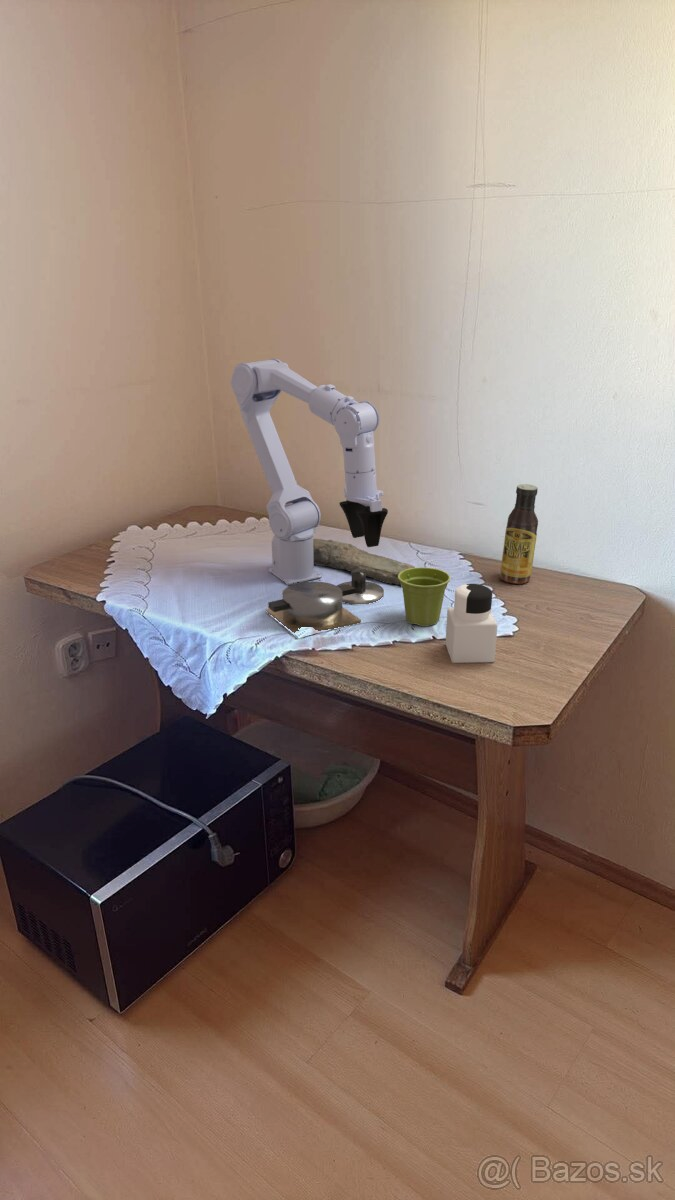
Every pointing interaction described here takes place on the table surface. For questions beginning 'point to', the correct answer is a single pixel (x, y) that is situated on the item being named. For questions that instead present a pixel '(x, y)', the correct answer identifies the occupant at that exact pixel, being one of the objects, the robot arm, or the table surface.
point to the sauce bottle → (520, 537)
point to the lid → (362, 589)
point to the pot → (313, 606)
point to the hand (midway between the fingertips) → (365, 541)
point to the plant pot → (423, 594)
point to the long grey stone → (357, 560)
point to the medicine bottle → (471, 625)
